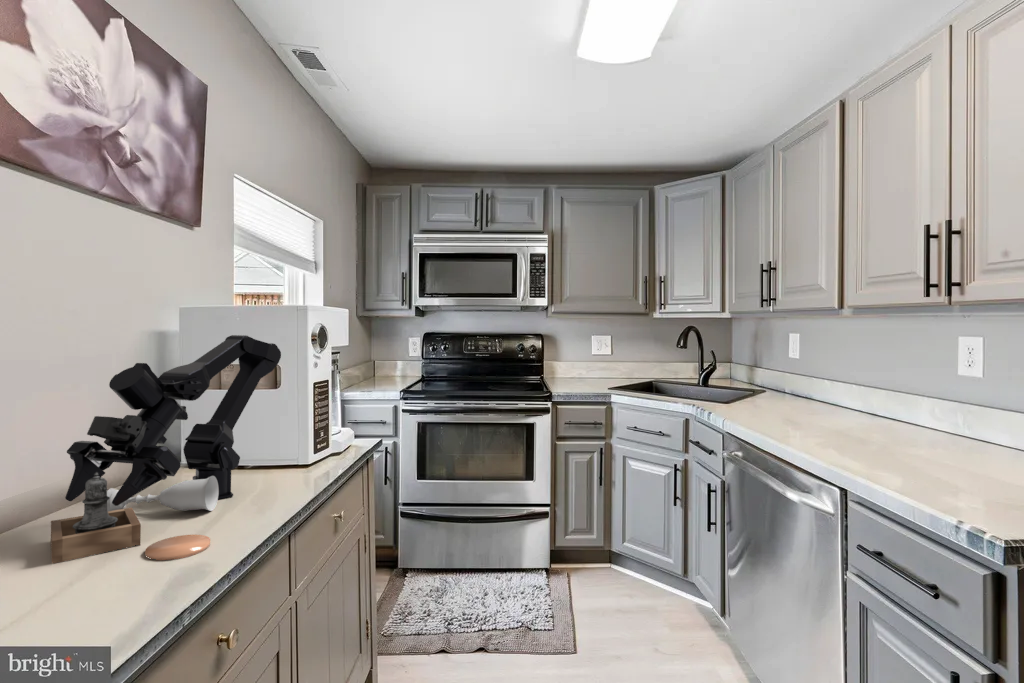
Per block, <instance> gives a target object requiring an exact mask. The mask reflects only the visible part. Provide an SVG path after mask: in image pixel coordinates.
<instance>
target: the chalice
mask: <svg viewBox="0 0 1024 683" xmlns="http://www.w3.org/2000/svg"><path fill="white" fill-rule="evenodd" d="M118 491H119V489H115V488H114V487H110V488H109V489H107V496H108V497H109V498H110V499H109V500H107V511H114V510H120V509H126V506H127V505H128V504H130V503H136V504H137V505H139V504H140V503H142V502H147V503H151V502H153V501H159V503H160V504H161V505H162V506H165V507H168V508H171V509H174V510H178V511H183V512H185V511H194V510H207V511H213V510H215V508H216V506H217V504H218V500H219V499H218V494H219V488H218V482H217V479H216V477H215V476H211V477H209V478H207V479H198V480H193V479H189V480H188V479H187V480H183V481H180V482H178V483H177V482H176V483H175V484H173V485H170V486H168V487H167V488H165V489H163V490H161V491H160V493H159V494H157V495H154V494H153V495H152V494H150V493H149V494H147V495H145V496H144V495H143V496H141V494H136V495H135V496H133V497H131V498H129V499H128V500H126V501H125V502H123V503H121V504H120V505H118V506H115V505H114V504H112V501H113V499H114V497H115V496H116V494H117V492H118Z"/></svg>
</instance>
